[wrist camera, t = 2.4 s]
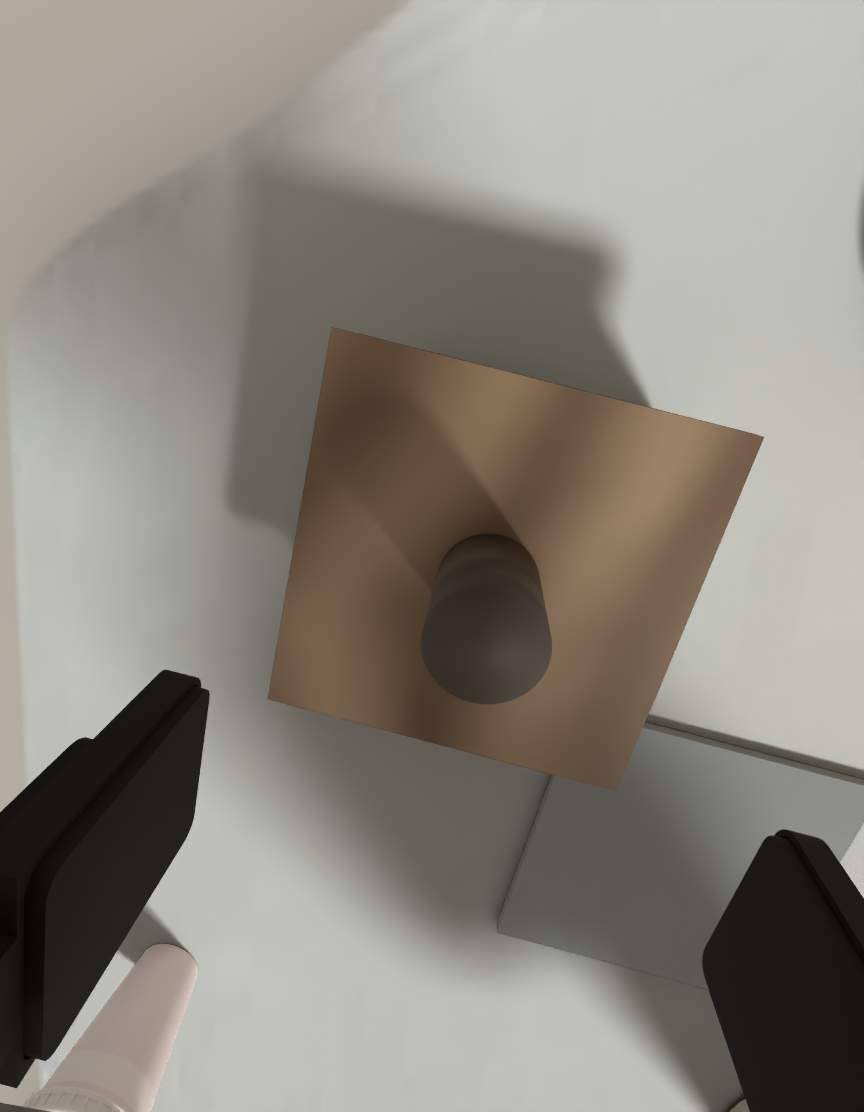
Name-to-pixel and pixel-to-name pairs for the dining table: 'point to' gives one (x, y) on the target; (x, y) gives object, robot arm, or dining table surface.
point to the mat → (665, 849)
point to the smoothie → (126, 1040)
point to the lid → (497, 557)
